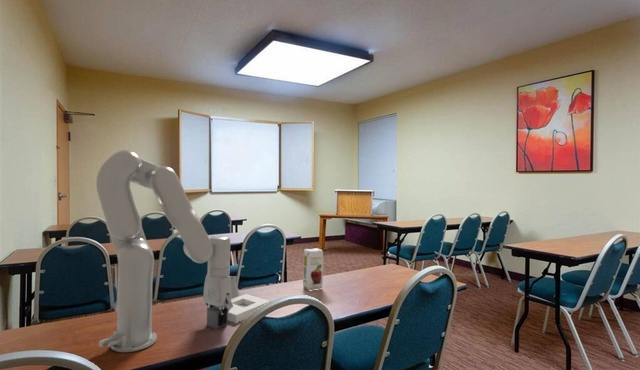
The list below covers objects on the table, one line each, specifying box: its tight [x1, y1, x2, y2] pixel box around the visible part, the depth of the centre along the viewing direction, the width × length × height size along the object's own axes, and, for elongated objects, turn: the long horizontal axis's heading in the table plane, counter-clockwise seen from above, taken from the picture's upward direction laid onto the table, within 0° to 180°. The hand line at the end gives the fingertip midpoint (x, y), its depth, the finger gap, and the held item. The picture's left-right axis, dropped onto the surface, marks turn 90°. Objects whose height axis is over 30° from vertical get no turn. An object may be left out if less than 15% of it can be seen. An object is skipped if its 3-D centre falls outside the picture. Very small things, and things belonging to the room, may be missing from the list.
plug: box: [206, 306, 229, 330], centre depth 120 cm, size 5×5×8 cm
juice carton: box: [302, 247, 324, 291], centre depth 163 cm, size 8×9×19 cm
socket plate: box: [228, 293, 271, 324], centre depth 133 cm, size 18×14×4 cm
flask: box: [230, 275, 241, 299], centre depth 145 cm, size 7×7×10 cm
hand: (217, 322), depth 120 cm, fingers closed on plug, 5 cm apart
